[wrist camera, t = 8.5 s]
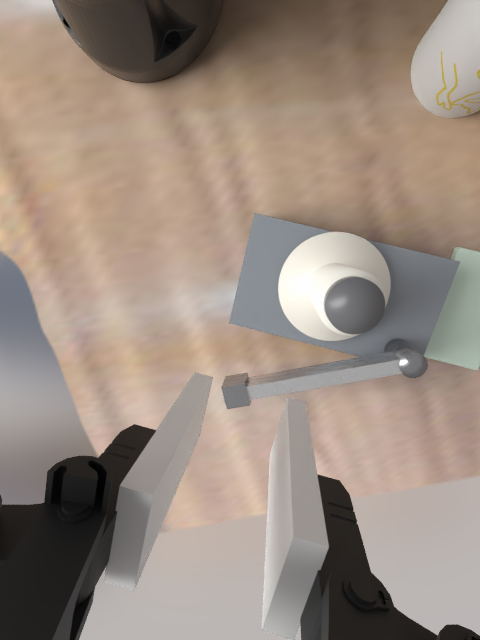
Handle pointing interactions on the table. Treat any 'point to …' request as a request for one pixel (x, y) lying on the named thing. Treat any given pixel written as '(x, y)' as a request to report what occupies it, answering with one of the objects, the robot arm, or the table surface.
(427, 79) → the cup
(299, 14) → the table surface
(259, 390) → the record player tonearm
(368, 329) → the plug
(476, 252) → the mat
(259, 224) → the socket block
